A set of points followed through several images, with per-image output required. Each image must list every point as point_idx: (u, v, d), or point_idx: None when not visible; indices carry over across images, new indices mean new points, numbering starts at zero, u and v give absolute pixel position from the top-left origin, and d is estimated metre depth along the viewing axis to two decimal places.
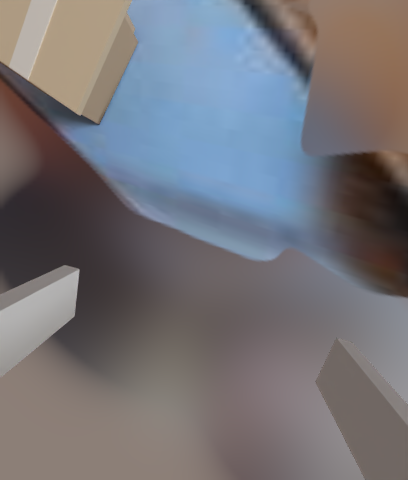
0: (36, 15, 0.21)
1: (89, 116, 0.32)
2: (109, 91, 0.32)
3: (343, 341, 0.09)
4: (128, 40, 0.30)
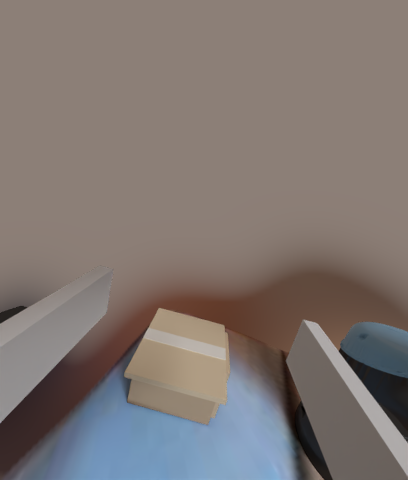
0: (181, 341, 0.33)
1: (131, 389, 0.33)
2: (158, 405, 0.33)
3: (309, 322, 0.10)
4: (203, 413, 0.33)
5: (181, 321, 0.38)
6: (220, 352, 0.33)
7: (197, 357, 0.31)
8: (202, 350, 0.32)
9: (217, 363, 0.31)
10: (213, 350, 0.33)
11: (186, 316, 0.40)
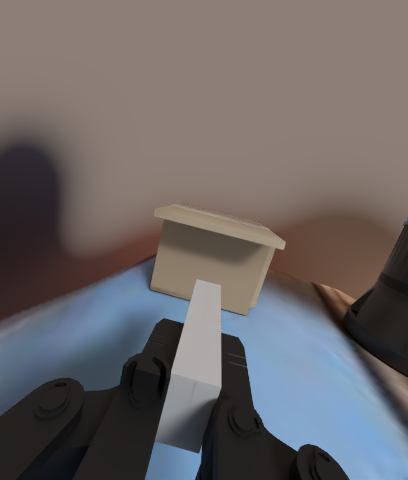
0: (215, 215, 0.28)
1: (155, 271, 0.27)
2: (188, 292, 0.28)
3: (212, 284, 0.12)
4: (242, 300, 0.27)
5: (210, 211, 0.33)
6: (262, 227, 0.27)
7: (237, 223, 0.25)
8: (241, 222, 0.27)
9: (262, 229, 0.25)
10: (254, 225, 0.27)
11: (215, 211, 0.34)
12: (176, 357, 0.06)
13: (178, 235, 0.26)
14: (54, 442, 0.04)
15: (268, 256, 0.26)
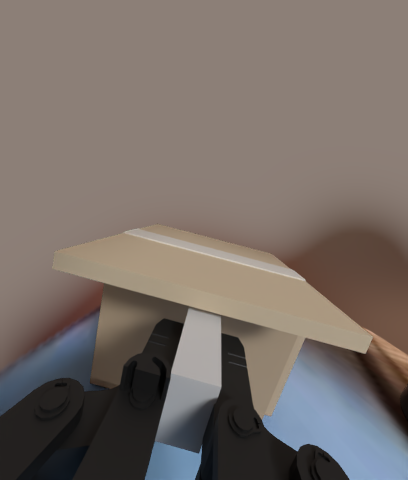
0: (205, 250, 0.16)
1: (98, 355, 0.15)
2: None
3: None
4: None
5: (198, 237, 0.21)
6: (287, 271, 0.16)
7: (245, 268, 0.14)
8: (251, 263, 0.15)
9: (292, 281, 0.13)
10: (272, 267, 0.16)
11: (206, 237, 0.23)
12: (176, 357, 0.06)
13: (134, 297, 0.14)
14: (54, 443, 0.04)
15: None
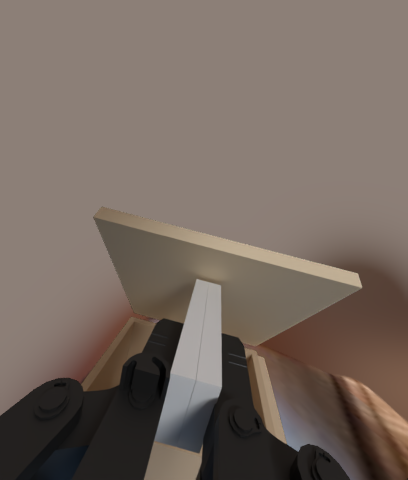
0: None
1: None
2: None
3: (213, 284, 0.12)
4: None
5: None
6: None
7: None
8: None
9: None
10: None
11: None
12: (176, 357, 0.06)
13: None
14: (54, 442, 0.04)
15: None
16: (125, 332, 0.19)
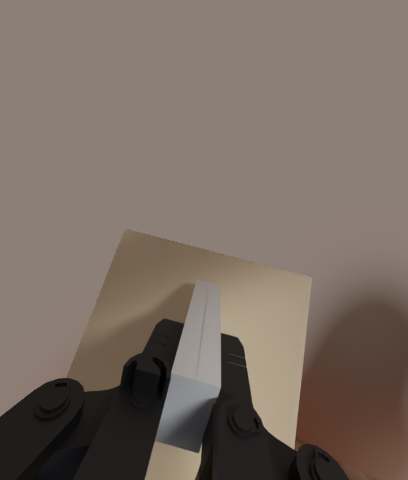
0: None
1: None
2: None
3: (212, 284, 0.12)
4: None
5: None
6: None
7: None
8: None
9: None
10: None
11: None
12: (176, 357, 0.06)
13: None
14: (54, 443, 0.04)
15: None
16: None
